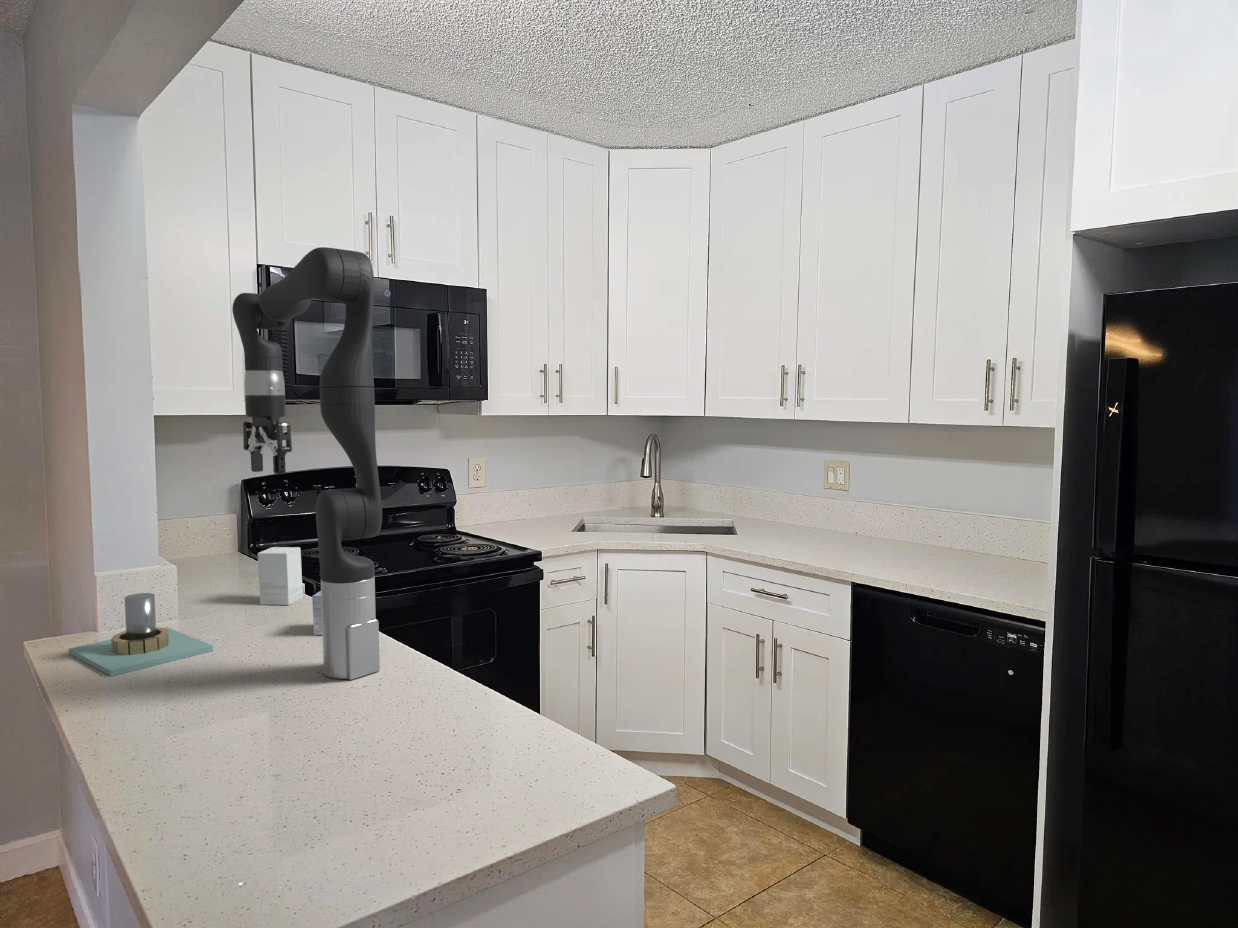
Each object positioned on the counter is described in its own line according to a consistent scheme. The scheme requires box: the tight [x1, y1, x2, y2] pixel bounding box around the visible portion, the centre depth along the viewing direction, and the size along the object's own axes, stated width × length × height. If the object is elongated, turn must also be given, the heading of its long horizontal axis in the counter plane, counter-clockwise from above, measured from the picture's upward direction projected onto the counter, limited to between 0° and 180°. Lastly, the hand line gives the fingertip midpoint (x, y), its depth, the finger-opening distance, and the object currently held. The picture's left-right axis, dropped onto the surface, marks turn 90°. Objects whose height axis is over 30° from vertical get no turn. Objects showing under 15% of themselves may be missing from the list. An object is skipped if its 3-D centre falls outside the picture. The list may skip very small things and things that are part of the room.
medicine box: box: [311, 590, 322, 636], centre depth 173 cm, size 8×4×9 cm, turn 179°
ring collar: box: [111, 626, 169, 655], centre depth 158 cm, size 9×9×2 cm
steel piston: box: [124, 592, 157, 640], centre depth 158 cm, size 5×5×10 cm
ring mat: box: [68, 626, 214, 677], centre depth 158 cm, size 20×18×1 cm
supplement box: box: [257, 546, 304, 606], centre depth 195 cm, size 7×7×13 cm
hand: (268, 472), depth 167 cm, fingers open, 8 cm apart
